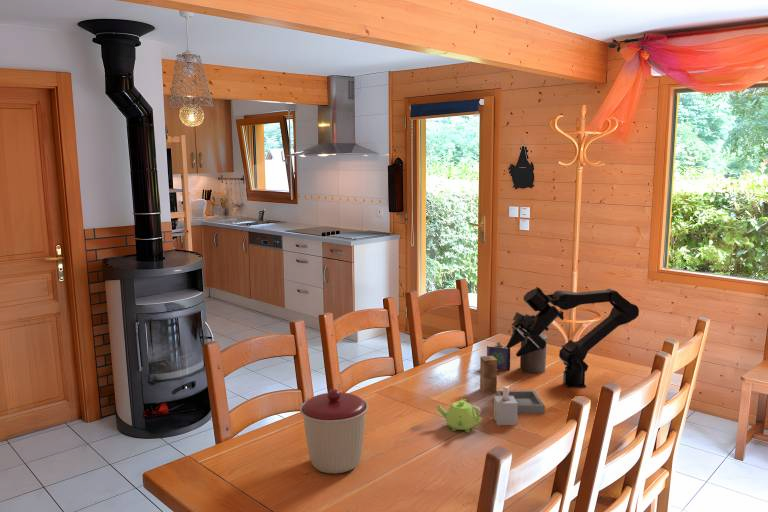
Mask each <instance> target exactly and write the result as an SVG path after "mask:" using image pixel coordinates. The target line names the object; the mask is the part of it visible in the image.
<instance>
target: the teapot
mask: <svg viewBox="0 0 768 512" xmlns="http://www.w3.org/2000/svg"><path fill="white" fill-rule="evenodd" d="M475 409H476V410H478V411H477V412H476V410H475ZM436 410H437V411H438V412H439V413H440V414H441V415H442V416H443V417H444V418H445V422H446V424H447V425H448V426H449V428H451V431H452V432H457V430H461V431H462V430H463V431H464V432H466V433H470V432H471V429H472V428H474V427H475V426H476V425H477V423H479V424H480V423H482V422H483V419H482V417H480V415H481V409H480V407H478V406H476V405H473V406H472V404H471V403H469V402H467V399H466V398H461V399H460V400H457V401H455V402H453V403H452V404H451V405H450V406H449V408H448V410H447V411H446V410H445V409H444V408H443V407H442V406H441V405H438V406H437V407H436Z"/></svg>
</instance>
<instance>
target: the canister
mask: <svg viewBox="0 0 768 512" xmlns="http://www.w3.org/2000/svg"><path fill="white" fill-rule="evenodd" d="M368 410H369V403H368V402H367V401H366V400H365V399H364V398H362V397H360V396H358V395H356V394H353V393H348V392H340V390H339V389H336V388H333V389H330V390H329V391H328V392H325V393H321V394H318V395H315V396H312V397H310V398H309V399H307V400H305V401H304V402H303V403H302V404H301V405H300V407H299V411H300V414H301V415H302V417H303V418H302V420H303V424H304V431H305V436H306V437H305V438H306V439H305V440H306V445H307V449H308V456H309V460H310V462H311V464H312V466H313V467H314V468H315V469H316V470H317V471H319V472H321V473H326V474H329V475H330V474H334V475H335V474H336V475H337V474H343V473H347V472H349V471H351V470H353V469H355V468H356V467H357V466H358V465H359V463H360V461H361V458H362V453H363V452H362V451H363V445H364V436H365V426H366V425H365V424H366V414H367V412H368Z"/></svg>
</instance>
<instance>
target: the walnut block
mask: <svg viewBox="0 0 768 512" xmlns="http://www.w3.org/2000/svg"><path fill="white" fill-rule="evenodd" d="M479 361H480V362H479V363H480V365H479V366H480V368H479V369H480V370H479V374H480V375H479V390H480V391H481V392H482V393H483V394H484V395H486V394H487V393H488V394H496V391H498V390H497V389H498V388H497V386H498V384H497V383H498V382H497V378H498V376H497V374H498V370H497V359H496V358H495V357H493V356H487V355H485V356H480V360H479Z"/></svg>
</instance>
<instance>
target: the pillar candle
mask: <svg viewBox="0 0 768 512" xmlns="http://www.w3.org/2000/svg"><path fill="white" fill-rule="evenodd" d="M539 336H540V337H541V338H542V339H543V340H544V341H545V342H546V347H545V348H544V349H543V350H542V349H540V348H539V349H540V350H536V351H533V352H530V353H527V354H524V355H522V356H519V357H520V358H519V361H520V362H519V370H520V371H521V372H523V373H525V374H526V373H527V374H529V375H530V374H531V375H540V374H543V373H545V372H546V364H547V343H548V342H547V341H548V336H547V335H546V334H543V333H541V334H540V335H539ZM523 337H524V336H523ZM524 338H525V337H524ZM528 338H529V337H528ZM529 339H530V338H529ZM524 343H525V340H523V341H521V342H520V348H521V347H522V346H523V344H524Z"/></svg>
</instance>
